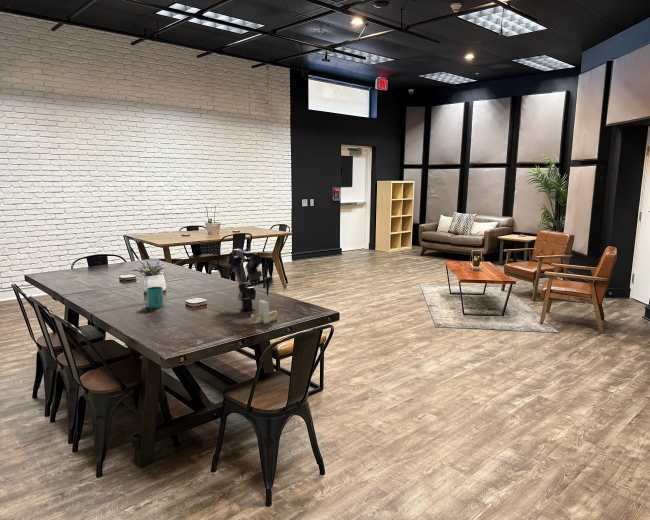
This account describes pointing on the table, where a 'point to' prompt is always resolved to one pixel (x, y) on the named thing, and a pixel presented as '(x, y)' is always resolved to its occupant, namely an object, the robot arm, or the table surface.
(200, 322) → the table surface
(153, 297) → the cup
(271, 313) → the birch rail
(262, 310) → the tall green pillar
